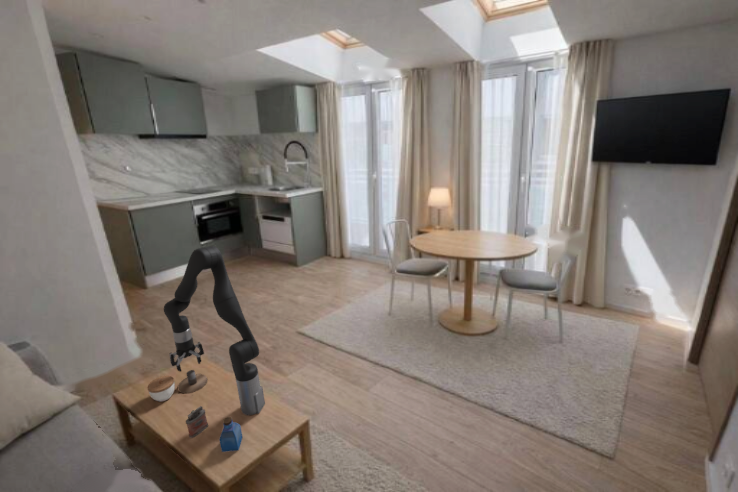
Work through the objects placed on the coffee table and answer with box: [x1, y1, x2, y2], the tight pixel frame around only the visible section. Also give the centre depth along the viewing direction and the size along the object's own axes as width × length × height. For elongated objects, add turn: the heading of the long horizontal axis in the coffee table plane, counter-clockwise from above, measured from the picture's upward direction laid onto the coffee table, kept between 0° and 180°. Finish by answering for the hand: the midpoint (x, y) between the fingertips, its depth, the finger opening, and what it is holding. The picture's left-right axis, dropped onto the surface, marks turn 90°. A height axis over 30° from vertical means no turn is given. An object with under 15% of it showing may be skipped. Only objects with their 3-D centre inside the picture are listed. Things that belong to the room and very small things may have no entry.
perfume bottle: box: [218, 416, 243, 453], centre depth 139 cm, size 6×6×12 cm
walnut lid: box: [177, 369, 209, 394], centre depth 175 cm, size 13×13×7 cm
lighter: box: [185, 405, 209, 439], centre depth 146 cm, size 8×3×10 cm, turn 148°
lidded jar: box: [146, 375, 176, 402], centre depth 166 cm, size 11×11×9 cm
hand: (189, 366), depth 173 cm, fingers open, 8 cm apart
